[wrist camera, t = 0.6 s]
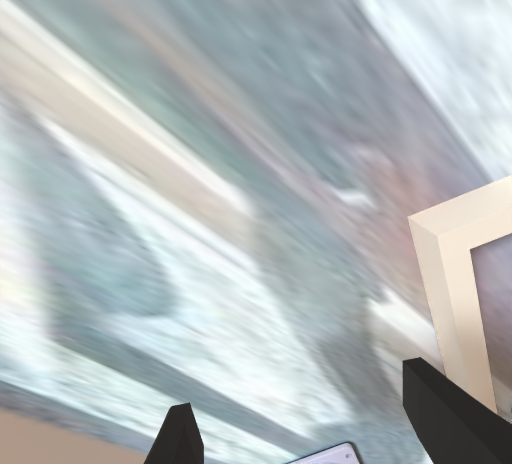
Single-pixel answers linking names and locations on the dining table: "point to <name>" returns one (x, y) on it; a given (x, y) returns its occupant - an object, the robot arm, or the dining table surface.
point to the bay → (461, 278)
